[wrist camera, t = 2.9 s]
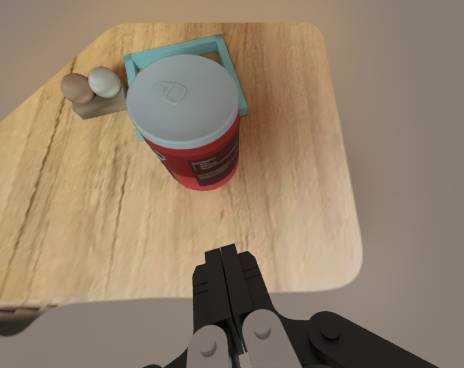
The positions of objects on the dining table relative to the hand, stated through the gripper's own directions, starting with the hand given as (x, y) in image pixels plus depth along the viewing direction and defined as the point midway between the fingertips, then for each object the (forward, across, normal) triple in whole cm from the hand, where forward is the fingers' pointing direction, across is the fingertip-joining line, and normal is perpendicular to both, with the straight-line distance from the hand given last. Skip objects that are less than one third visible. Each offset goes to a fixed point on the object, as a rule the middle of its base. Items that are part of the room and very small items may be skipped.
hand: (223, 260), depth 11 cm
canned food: (+17, 0, +1) cm, 17 cm away
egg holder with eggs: (+24, +10, -7) cm, 27 cm away
